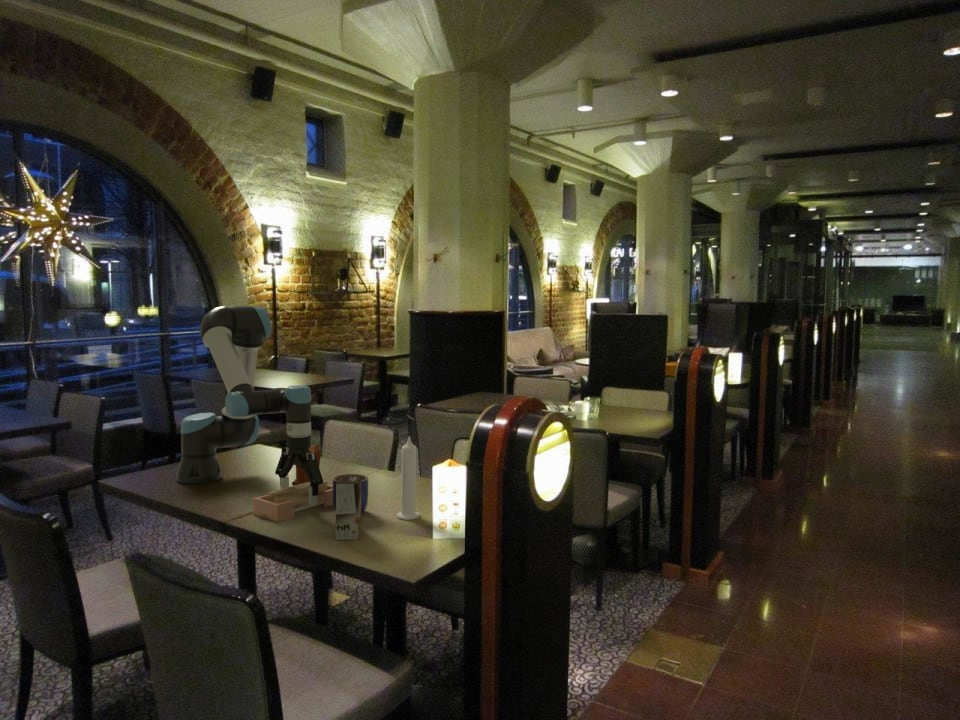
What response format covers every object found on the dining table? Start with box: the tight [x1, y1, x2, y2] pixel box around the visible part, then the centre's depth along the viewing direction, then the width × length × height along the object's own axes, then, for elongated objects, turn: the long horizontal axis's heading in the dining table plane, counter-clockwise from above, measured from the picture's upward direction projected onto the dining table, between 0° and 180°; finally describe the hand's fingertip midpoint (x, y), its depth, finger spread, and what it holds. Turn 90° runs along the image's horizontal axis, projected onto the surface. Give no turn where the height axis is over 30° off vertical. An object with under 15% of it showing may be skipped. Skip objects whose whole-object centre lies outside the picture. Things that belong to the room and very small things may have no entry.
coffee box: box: [335, 475, 362, 541], centre depth 196 cm, size 9×6×16 cm
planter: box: [332, 473, 369, 515], centre depth 216 cm, size 11×11×11 cm
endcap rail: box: [252, 483, 334, 523], centre depth 220 cm, size 11×25×5 cm, turn 144°
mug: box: [291, 444, 321, 486], centre depth 241 cm, size 15×8×15 cm, turn 168°
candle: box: [396, 436, 421, 521], centre depth 213 cm, size 7×7×25 cm
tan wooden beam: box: [267, 480, 328, 509], centre depth 220 cm, size 4×20×6 cm, turn 144°
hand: (298, 501), depth 220 cm, fingers open, 13 cm apart
